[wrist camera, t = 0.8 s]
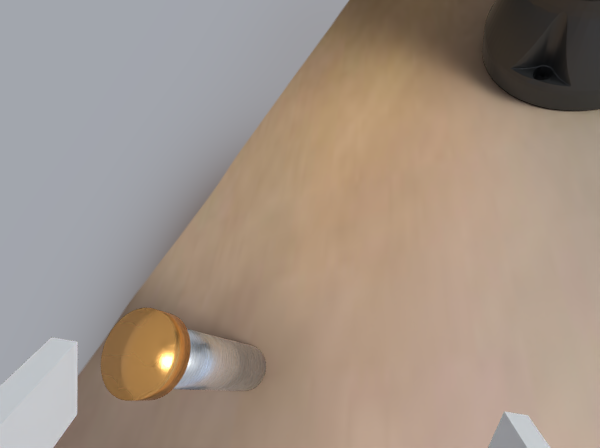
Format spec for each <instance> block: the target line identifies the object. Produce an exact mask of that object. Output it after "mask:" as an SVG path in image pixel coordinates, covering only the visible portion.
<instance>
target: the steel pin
mask: <svg viewBox="0 0 600 448" xmlns="http://www.w3.org/2000/svg"><path fill="white" fill-rule="evenodd" d="M265 370H266V362H265V358H264V355H263V353H262V352H261V351H260V350H259V349H258V348H257V347H255V346H252V345H248V344H244V343H240V342H236V341H233V340H229V339H225V338H221V337H217V336H213V335H209V334H205V333H201V332H197V331H193V330H189V329H187V328H186V326H185V325H184V323H183V322H182V321H181V320H180V319H179V318H178V317H176V316H175V315H173V314H170V313H166V312H163V311H159V310H156V309H152V308H140V309H136V310H134V311H132V312H130V313H128V314H127V315H125V316H124V317H123V318H122V319H121V320H119V322H118V323H117V324H116V325H115V326H114V328H113V329H112V331H111V332H110V334H109V336H108V338H107V340H106V342H105V345H104V348H103V352H102V357H101V373H102V378H103V381H104V384H105V386H106V388H107V389H108V390H109V392H110V393H111V394H112V395H113V396H115V397H117V398H119V399H121V400H130V401H132V400H155V399H158V398H161V397H163V396H165V395H166V394H168V393H169V392H170V391H171V390H172V389H189V390H228V391H249V390H252V389H254V388H255V387H257V386H258V385H259V384H260V382H261V381H262V379H263V377H264V375H265Z"/></svg>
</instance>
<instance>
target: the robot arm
mask: <svg viewBox="0 0 600 448" xmlns="http://www.w3.org/2000/svg"><path fill="white" fill-rule="evenodd" d="M483 60H484V64H485V66H486V69H487V71H488V73H489V74H490V76H491V77H492V79H493V80H494V81H495V82H496V83H497V84H498V85H499V86H500V87H501V88H502V89H504V90H505V91H506V92H508V93H509V94H511V95H513V96H514V97H516V98H518V99H520V100H523V101H525V102H528V103H531V104H534V105H537V106H541V107H546V108H551V109H559V110H593V109H600V0H495V2H494V4H493V6H492V8H491V10H490V12H489V14H488V17H487V20H486V24H485V29H484V38H483ZM77 346H78V342H77V341H72V340H66V339H59V338H53V337H51V338H50V339H49V340H48V341H47V342H46V343H45V344H44V345H43V346H42V347H40V348H39V350H37V351H36V352H35V353H34V354H33V355H32V356H31V357H30V358H29V359H28V360H27V361H26V362H25V363H24V364H22V365H21V366H20V367H19V368H18V369H17V370H16V371H15V372H14V373H13V374H12V375H11V376H10V377H9V378H8V379H7V380H6V381H5V382H4V383H2V384H1V385H0V448H53V447H54V446H55V445H56V443H57V442H58V440H59V439H60V438H61V436H62V435H63V433H64V432H65V431H66V429H67V428H68V426H69V425H70V424H71V422H72V421H73V419H74V418H75V417H76V415H77V366H78V347H77ZM488 448H550V446H549V445H548V444H547V442H546V441H545V439H544V438H543V436H542V435H541V434H540V432H539V431H538V429H537V428H536V426H535V425H534V423H533V422H532V421H531V419H530V418H529V416H528V415H522V414H516V413H510V412H504V413H503V416H502V418H501V420H500V422H499V424H498V427H497V429H496V431H495V433H494V435H493V438H492V440H491V442H490V444H489V447H488Z"/></svg>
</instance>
